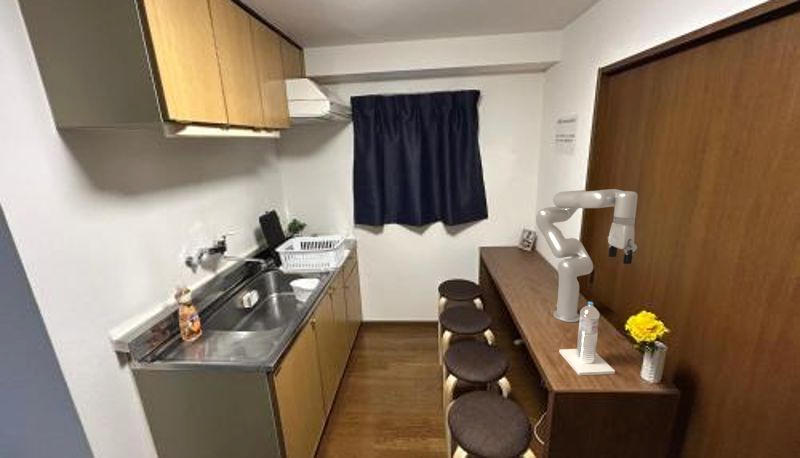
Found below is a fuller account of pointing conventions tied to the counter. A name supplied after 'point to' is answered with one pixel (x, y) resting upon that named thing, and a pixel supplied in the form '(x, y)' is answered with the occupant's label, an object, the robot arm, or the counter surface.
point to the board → (586, 364)
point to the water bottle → (587, 334)
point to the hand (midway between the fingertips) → (619, 260)
